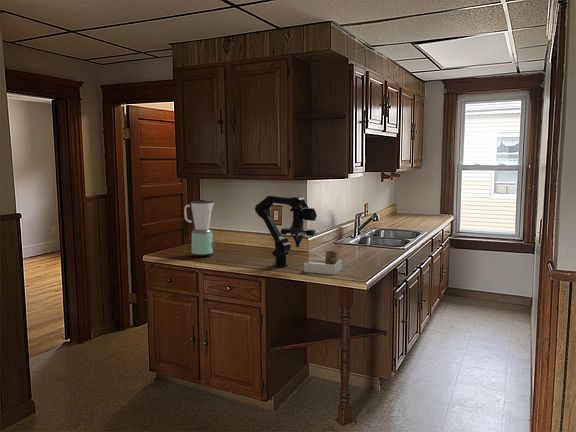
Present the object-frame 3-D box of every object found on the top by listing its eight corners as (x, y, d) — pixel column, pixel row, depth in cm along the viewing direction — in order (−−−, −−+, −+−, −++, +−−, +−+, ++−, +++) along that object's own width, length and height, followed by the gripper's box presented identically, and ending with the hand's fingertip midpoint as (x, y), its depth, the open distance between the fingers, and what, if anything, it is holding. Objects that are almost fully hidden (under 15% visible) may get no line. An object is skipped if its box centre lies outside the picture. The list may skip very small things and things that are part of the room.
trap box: (304, 271, 262) (304, 262, 262) (311, 266, 276) (311, 257, 276) (335, 274, 257) (335, 265, 256) (341, 268, 271) (341, 259, 270)
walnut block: (325, 265, 265) (325, 250, 264) (328, 263, 271) (328, 249, 270) (336, 266, 263) (336, 251, 262) (338, 263, 269) (338, 249, 268)
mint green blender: (215, 253, 312) (214, 199, 308) (216, 257, 299) (215, 201, 295) (185, 254, 309) (184, 199, 305) (185, 258, 296) (183, 201, 292)
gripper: (277, 220, 263) (277, 248, 264) (310, 222, 257) (310, 251, 259) (283, 218, 273) (283, 245, 275) (315, 219, 267) (315, 247, 269)
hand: (297, 247), depth 269 cm, fingers closed
